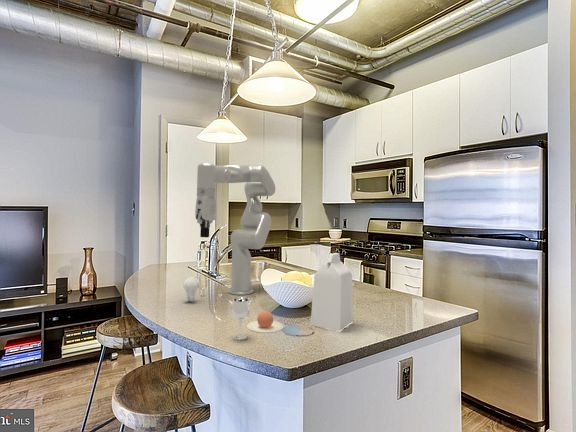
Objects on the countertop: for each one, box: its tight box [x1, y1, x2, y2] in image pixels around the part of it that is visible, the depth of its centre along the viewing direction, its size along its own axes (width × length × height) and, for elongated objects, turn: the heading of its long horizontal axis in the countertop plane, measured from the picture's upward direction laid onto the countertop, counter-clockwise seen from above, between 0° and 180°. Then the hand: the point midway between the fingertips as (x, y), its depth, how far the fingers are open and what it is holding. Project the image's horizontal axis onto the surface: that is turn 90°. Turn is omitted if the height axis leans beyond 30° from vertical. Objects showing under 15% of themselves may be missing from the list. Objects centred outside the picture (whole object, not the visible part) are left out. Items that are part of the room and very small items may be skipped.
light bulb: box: [183, 276, 200, 303], centre depth 149 cm, size 7×7×11 cm
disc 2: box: [281, 324, 302, 337], centre depth 117 cm, size 11×11×1 cm
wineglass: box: [231, 297, 251, 341], centre depth 109 cm, size 6×6×12 cm
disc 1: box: [246, 320, 285, 334], centre depth 121 cm, size 13×13×1 cm
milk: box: [310, 252, 354, 330], centre depth 125 cm, size 12×12×26 cm
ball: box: [256, 310, 274, 328], centre depth 119 cm, size 6×6×6 cm
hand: (204, 237), depth 143 cm, fingers closed
